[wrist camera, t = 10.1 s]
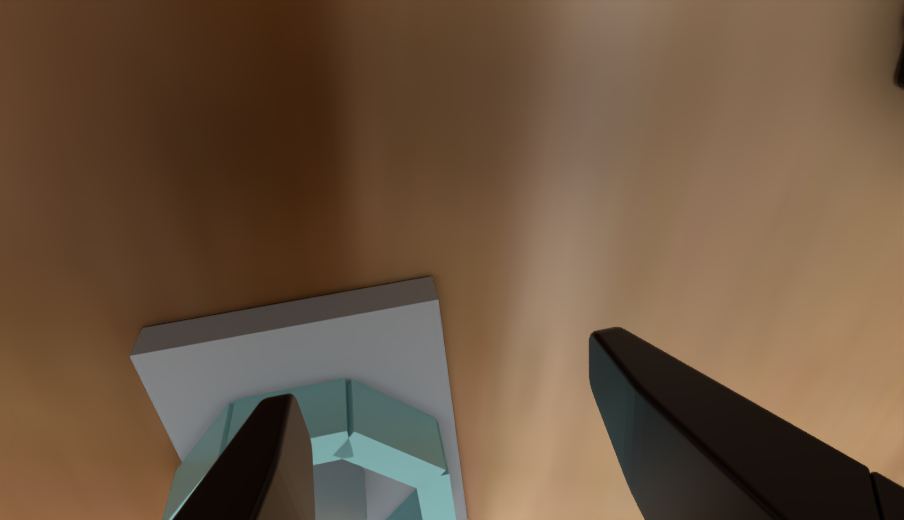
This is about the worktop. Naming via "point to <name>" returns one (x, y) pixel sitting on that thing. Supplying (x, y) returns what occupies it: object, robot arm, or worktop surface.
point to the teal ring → (344, 444)
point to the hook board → (309, 375)
